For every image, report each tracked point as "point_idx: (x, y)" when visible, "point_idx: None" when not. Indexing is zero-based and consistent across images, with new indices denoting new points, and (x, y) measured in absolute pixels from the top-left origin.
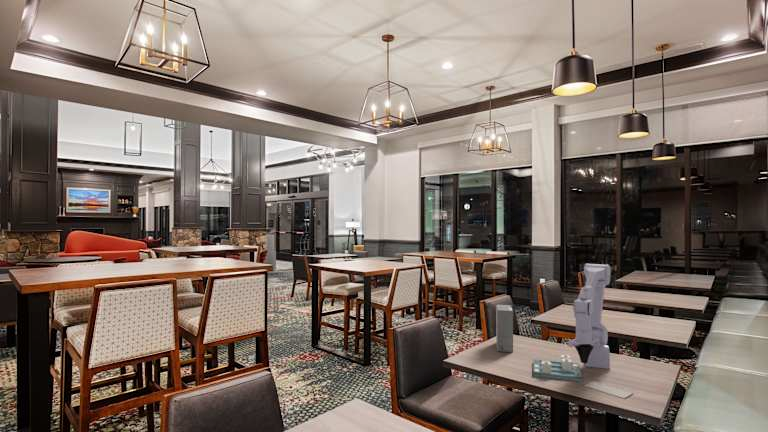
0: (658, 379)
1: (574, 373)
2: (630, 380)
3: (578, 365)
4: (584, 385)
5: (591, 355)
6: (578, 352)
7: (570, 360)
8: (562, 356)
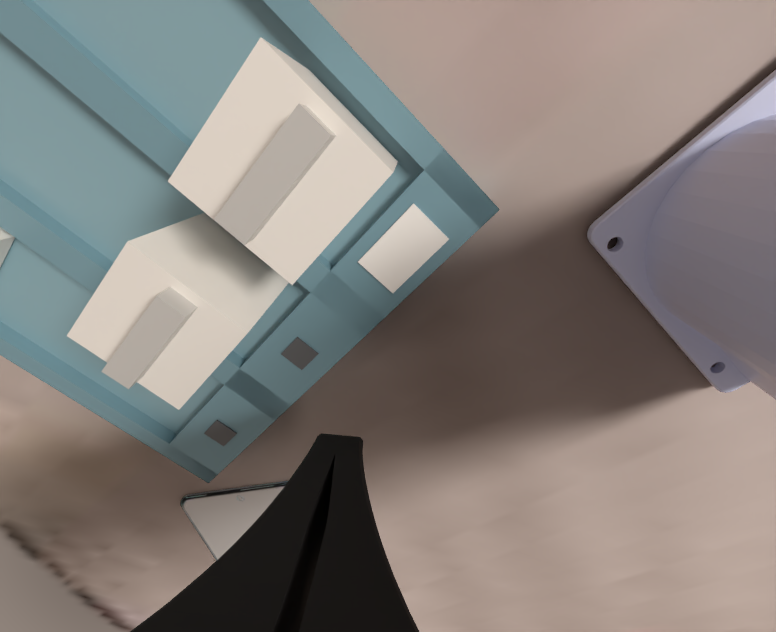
0: (741, 612)
1: (207, 402)
2: (566, 560)
3: (435, 267)
4: (183, 502)
5: (741, 324)
6: (242, 548)
7: (207, 361)
8: (206, 159)
